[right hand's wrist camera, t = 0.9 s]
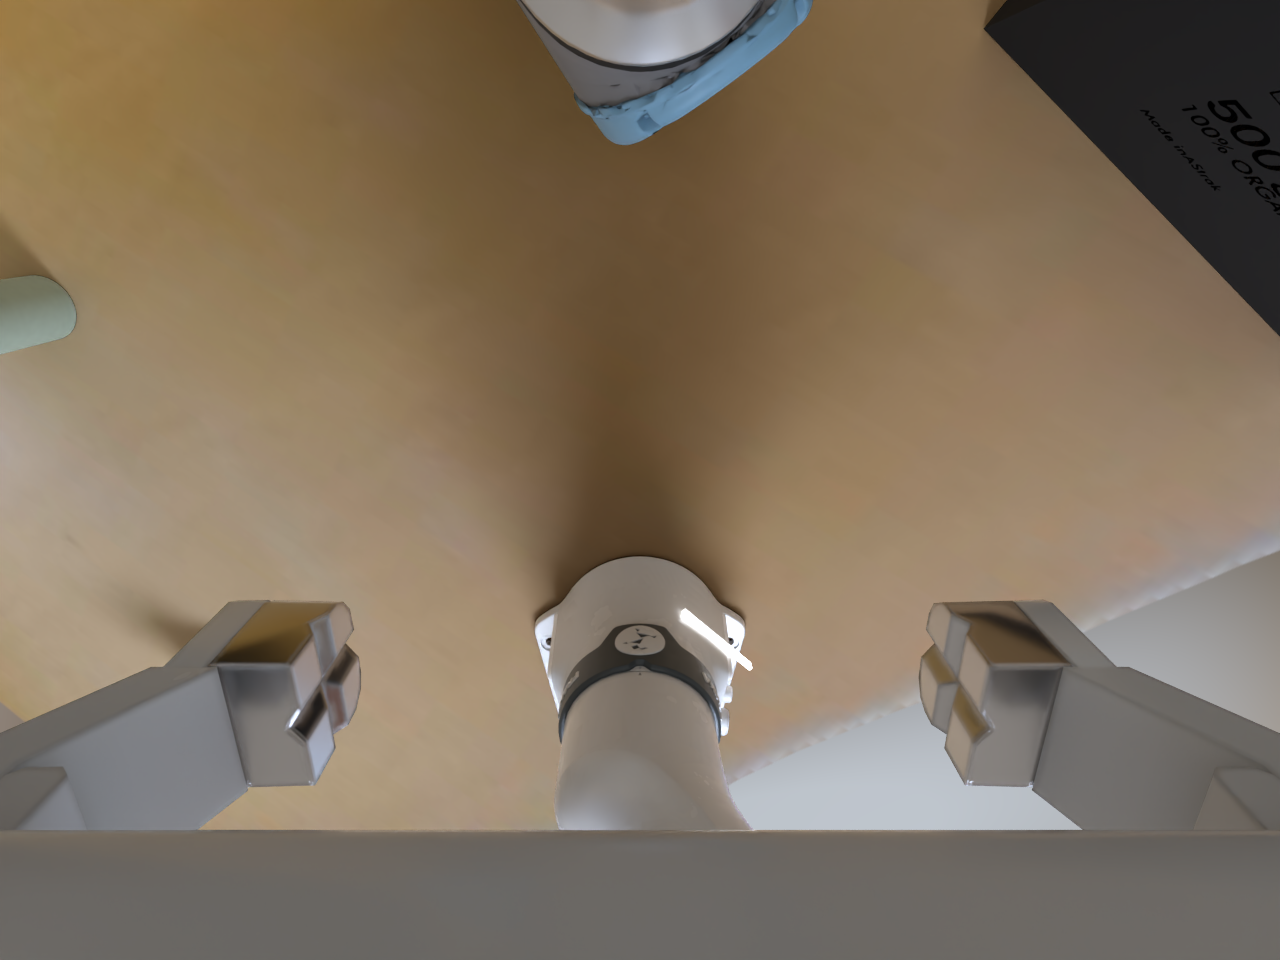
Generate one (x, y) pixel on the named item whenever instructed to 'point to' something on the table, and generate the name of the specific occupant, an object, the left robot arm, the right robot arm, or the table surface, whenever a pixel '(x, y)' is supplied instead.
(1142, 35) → the black computer case
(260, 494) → the table surface
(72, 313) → the jar
